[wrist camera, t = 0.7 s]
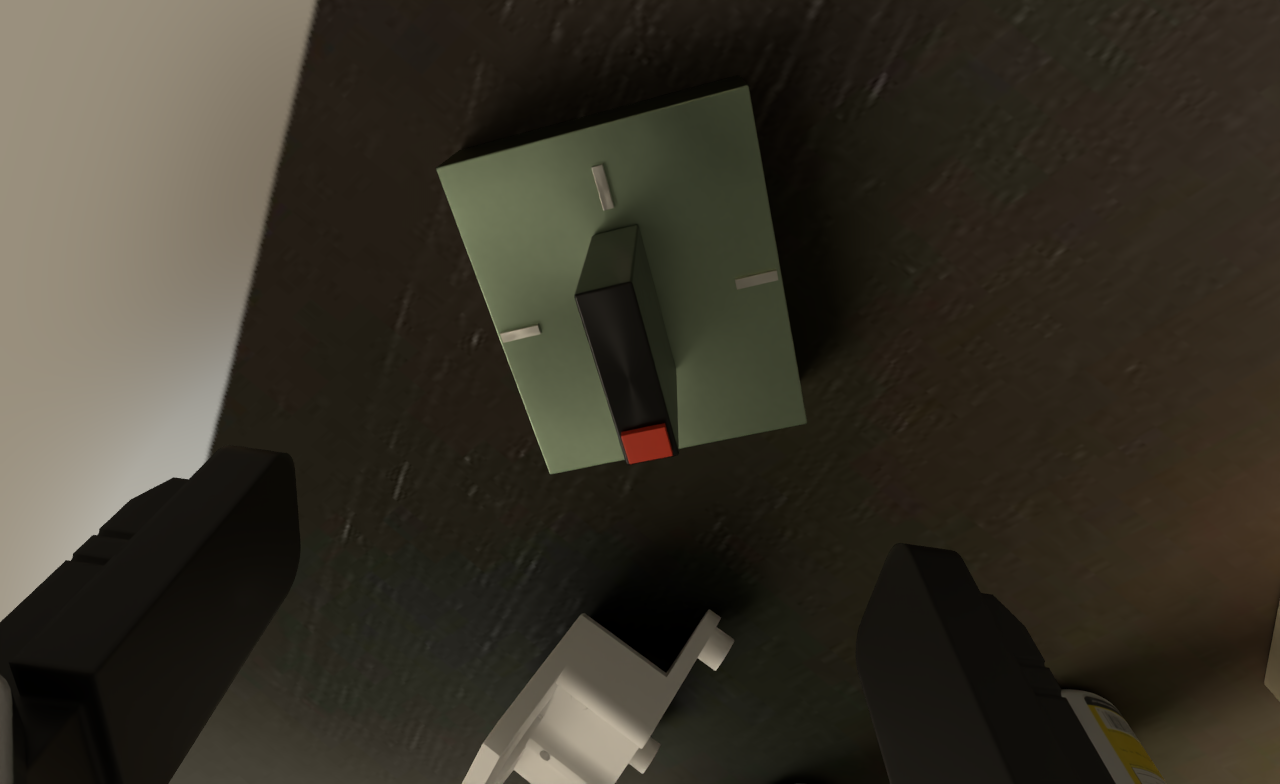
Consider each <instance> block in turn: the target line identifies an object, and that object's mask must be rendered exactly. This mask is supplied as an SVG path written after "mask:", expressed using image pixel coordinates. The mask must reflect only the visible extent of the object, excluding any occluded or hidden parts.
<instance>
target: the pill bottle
mask: <svg viewBox="0 0 1280 784" xmlns="http://www.w3.org/2000/svg"><path fill="white" fill-rule="evenodd" d="M1061 696H1062V697H1065V698H1067V700H1068V702H1069V704H1070V705H1071V707H1072V709H1073V710H1074V712H1075V714H1076V716H1077V717H1078V719H1079V721H1080V723H1081V724H1082V726H1083V728H1084V729H1085V731H1086V733H1087V735H1088V736H1089V738H1090V740H1091V742H1092V743H1093V745H1094V747H1095V748H1096V750H1097V752H1098V754H1099V755H1100V757H1101V759H1102V761H1103V762H1104V764H1105V766H1106V768H1107V769H1108V771H1109V773H1110V774H1111V776H1112V778H1113V780H1114V781H1115V783H1116V784H1167V783H1166V782H1165V780H1164V779H1163V777H1162V776H1161V774H1160V773H1159V771H1158V770H1157V768H1156V767H1155V765H1154V763H1153V762H1152V760H1151V759H1150V757H1149V756H1148V754H1147V753H1146V751H1145V750H1144V748H1143V747H1142V745H1141V743H1140V742H1139V740H1138V739H1137V737H1136V736H1135V734H1134V733H1133V731H1132V729H1131V728H1130V726H1129V725H1128V723H1127V722H1126V720H1125V719H1124V717H1123V716H1122V715H1121V713H1120V712H1119V710H1118V709H1117V708H1116V707H1115V706H1114V705H1113V704H1112V703H1110V702H1109V701H1108V700H1106V699H1104V698H1103V697H1101V696H1099V695H1096V694H1094V693H1091V692H1087V691H1082V690H1072V689H1063V690H1061Z"/></svg>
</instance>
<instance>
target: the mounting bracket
mask: <svg viewBox="0 0 1280 784" xmlns="http://www.w3.org/2000/svg"><path fill="white" fill-rule="evenodd" d="M720 619H721V617H720V616H718V615H717V614H715V613H714V612H713V611H711V610H710V609H708V611H707V612H706V614H705V615H704V617H703V618H702V620H701V621H700V623H699V624H698V626H697V627H696V629H695V630H694V632H693V633H692V635H691V636H690V638H689V639H688V641H687V642H686V644H685V645H684V647H683V648H682V650H681V651H680V653H679V655H678V656H677V658H676V659H675V661H674V662H673V664H672V665H671V667H670V668H669V670H668V671H667V673H665V672H664V671H663V670H661V669H660V668H659V667H657V666H656V665H654V664H653V663H652V662H650V661H649V660H648V659H646V658H645V657H644V656H642V655H641V654H639V653H638V652H637V651H635V650H634V649H633V648H631V647H630V646H629V645H627V644H626V643H624V642H623V641H622V640H620V639H619V638H618V637H616V636H615V635H614V634H612V633H611V632H610V631H608V630H607V629H605V628H604V627H603V626H601V625H600V624H599V623H597V622H596V621H595V620H593V619H592V618H590V617H589V616H588V615H586V614H585V613H583V614H581V615H580V616H579V617H578V619H577V620H576V621H575V623H574V624H573V625H572V626H571V628H570V629H569V630H568V632H567V633H566V634H565V636H564V637H563V638H562V639H561V641H560V642H559V643H558V645H557V646H556V647H555V648H554V650H553V651H552V652H551V654H550V655H549V656H548V658H547V659H546V660H545V661H544V663H543V664H542V665H541V667H540V668H539V669H538V671H537V672H536V673H535V674H534V676H533V677H532V678H531V680H530V681H529V682H528V684H527V685H526V686H525V687H524V689H523V690H522V691H521V693H520V694H519V695H518V697H517V698H516V699H515V700H514V702H513V703H512V704H511V706H510V707H509V708H508V710H507V711H506V712H505V713H504V715H503V716H502V717H501V719H500V720H499V721H498V723H497V724H496V725H495V727H494V728H493V730H492V731H491V733H490V734H489V735H488V737H487V738H486V740H485V741H484V743H483V744H482V746H481V748H480V750H479V752H478V754H477V756H476V758H475V760H474V761H473V763H472V765H471V767H470V769H469V771H468V773H467V775H466V777H465V779H464V781H463V782H462V784H503V783H504V781H505V780H506V779H507V778H508V776H509V775H510V774H511V772H512V771H513V770H515V771H516V772H517V773H518V774H520V775H521V776H522V777H523V778H525V779H526V780H527V781H528V782H530V783H531V784H615V782H616V781H617V779H618V778H619V776H620V775H621V773H622V772H623V770H624V769H625V767H626V766H627V765H628V763H629V764H630V765H631V766H633V767H634V768H635V769H637V770H638V771H639V772H641V773H642V774H643V773H644V772H645V770H646V769H647V767H648V766H649V764H650V763H651V761H652V760H653V758H654V756H655V755H656V753H657V751H658V749H659V747H660V745H661V744H659V743H658V742H657V741H655V740H654V739H653V738H651V737H650V736H651V734H652V733H653V731H654V729H655V728H656V726H657V724H658V723H659V721H660V719H661V718H662V716H663V714H664V713H665V711H666V710H667V708H668V706H669V705H670V703H671V701H672V700H673V698H674V696H675V695H676V693H677V691H678V690H679V688H680V686H681V685H682V683H683V681H684V680H685V678H686V676H687V675H688V673H689V671H690V670H691V668H692V666H693V665H694V663H695V661H696V660H697V658H698V659H699V660H701V661H702V662H704V663H705V664H706V665H708V666H709V667H711V668H712V669H713V670H715V671H716V670H717V668H718V667H719V666H720V664H721V663H722V661H723V660H724V658H725V656H726V655H727V653H728V651H729V650H730V648H731V646H732V644H733V642H734V639H733V638H731V637H730V636H728V635H727V634H726V633H724V632H723V631H721V630H720V629H719V628H717V627H716V626H717V624H718V623H719V621H720Z"/></svg>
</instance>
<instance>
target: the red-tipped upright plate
mask: <svg viewBox="0 0 1280 784" xmlns="http://www.w3.org/2000/svg"><path fill="white" fill-rule="evenodd" d="M574 299H575V302H576V305H577V308H578V311H579V315H580V318H581V321H582V324H583V327H584V331H585V334H586V337H587V340H588V343H589V346H590V350H591V353H592V356H593V359H594V362H595V366H596V369H597V372H598V375H599V378H600V382H601V385H602V388H603V391H604V394H605V397H606V401H607V404H608V407H609V410H610V413H611V417H612V420H613V423H614V426H615V429H616V433H617V436H618V439H619V442H620V445H621V448H622V452H623V455H624V458H625V461H626V463H627V465H632V464H637V463H642V462H647V461H652V460H657V459H662V458H667V457H672V456H677V455H678V454H679V438H678V406H677V374H676V367H675V363H674V360H673V356H672V352H671V348H670V344H669V340H668V336H667V332H666V329H665V325H664V321H663V317H662V313H661V309H660V305H659V302H658V298H657V294H656V290H655V286H654V282H653V278H652V274H651V271H650V267H649V263H648V259H647V255H646V251H645V247H644V244H643V240H642V236H641V232H640V228H639V226H638V225H634V226H630V227H626V228H622V229H618V230H614V231H610V232H605V233H601V234H597V235H593V236H592V238H591V241H590V244H589V248H588V251H587V254H586V258H585V261H584V264H583V268H582V271H581V274H580V278H579V281H578V284H577V288H576V291H575V294H574Z"/></svg>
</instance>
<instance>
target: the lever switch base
mask: <svg viewBox="0 0 1280 784" xmlns="http://www.w3.org/2000/svg"><path fill="white" fill-rule="evenodd" d="M436 170H437V173H438V176H439V178H440V181H441V184H442V186H443V189H444V192H445V194H446V197H447V200H448V202H449V205H450V208H451V210H452V213H453V216H454V218H455V221H456V224H457V227H458V229H459V232H460V235H461V237H462V240H463V243H464V245H465V248H466V251H467V253H468V256H469V259H470V261H471V264H472V267H473V269H474V272H475V275H476V277H477V280H478V283H479V285H480V288H481V291H482V293H483V296H484V299H485V302H486V304H487V307H488V310H489V312H490V315H491V318H492V320H493V323H494V326H495V328H496V331H497V334H498V336H499V339H500V342H501V344H502V347H503V350H504V352H505V355H506V358H507V360H508V363H509V366H510V368H511V371H512V374H513V377H514V379H515V382H516V385H517V387H518V390H519V393H520V395H521V398H522V401H523V403H524V406H525V409H526V411H527V414H528V417H529V419H530V422H531V425H532V427H533V430H534V433H535V435H536V438H537V441H538V444H539V446H540V449H541V452H542V454H543V457H544V460H545V462H546V465H547V468H548V470H549V473H550V474H556V473H561V472H566V471H571V470H576V469H581V468H586V467H591V466H596V465H601V464H606V463H611V462H616V461H621V460H625V458H624V455H623V452H622V448H621V445H620V442H619V439H618V436H617V433H616V429H615V426H614V423H613V420H612V417H611V413H610V410H609V407H608V404H607V401H606V397H605V394H604V391H603V388H602V385H601V382H600V378H599V375H598V372H597V369H596V366H595V362H594V359H593V356H592V353H591V350H590V346H589V343H588V340H587V337H586V334H585V331H584V327H583V324H582V321H581V318H580V315H579V311H578V308H577V305H576V302H575V299H574V294H575V291H576V288H577V284H578V281H579V278H580V274H581V271H582V268H583V264H584V261H585V258H586V254H587V251H588V248H589V244H590V241H591V238H592V236H593V235H597V234H601V233H605V232H610V231H614V230H618V229H622V228H626V227H630V226H634V225H638V226H639V228H640V232H641V236H642V240H643V244H644V247H645V251H646V255H647V259H648V263H649V267H650V271H651V274H652V278H653V282H654V286H655V290H656V294H657V298H658V302H659V305H660V309H661V313H662V317H663V321H664V325H665V329H666V332H667V336H668V340H669V344H670V348H671V352H672V356H673V360H674V363H675V367H676V374H677V406H678V438H679V449H682V448H687V447H692V446H697V445H702V444H707V443H712V442H717V441H722V440H727V439H732V438H737V437H742V436H747V435H752V434H757V433H762V432H767V431H772V430H777V429H782V428H787V427H792V426H797V425H802V424H807V417H806V412H805V406H804V400H803V394H802V389H801V383H800V377H799V371H798V366H797V360H796V354H795V348H794V343H793V337H792V331H791V325H790V320H789V314H788V308H787V302H786V297H785V291H784V285H783V279H782V274H781V268H780V262H779V256H778V251H777V245H776V239H775V233H774V228H773V222H772V216H771V210H770V205H769V199H768V193H767V187H766V182H765V176H764V170H763V164H762V159H761V153H760V147H759V141H758V136H757V130H756V124H755V118H754V113H753V107H752V101H751V95H750V90H749V86H748V84H747V83H746V82H745V81H744V80H743V79H742V78H741V77H740V76H739V75H738V76H734V77H730V78H726V79H723V80H719V81H715V82H712V83H708V84H704V85H700V86H697V87H693V88H689V89H686V90H682V91H678V92H674V93H671V94H667V95H663V96H659V97H656V98H652V99H648V100H645V101H641V102H637V103H633V104H630V105H626V106H622V107H618V108H615V109H611V110H607V111H604V112H600V113H596V114H592V115H589V116H585V117H581V118H578V119H574V120H570V121H566V122H563V123H559V124H555V125H551V126H548V127H544V128H540V129H537V130H533V131H529V132H525V133H522V134H518V135H514V136H510V137H507V138H503V139H499V140H496V141H492V142H488V143H484V144H481V145H477V146H473V147H470V148H466V149H462V150H459V151H458V152H456V153H455V154H454V155H452V156H451V157H450V158H449V159H447V160H446V161H445V162H443V163H442V164H441V165H439V166H438V167H437V168H436Z"/></svg>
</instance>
